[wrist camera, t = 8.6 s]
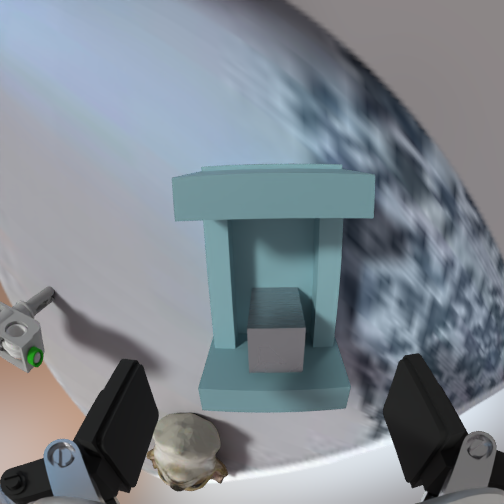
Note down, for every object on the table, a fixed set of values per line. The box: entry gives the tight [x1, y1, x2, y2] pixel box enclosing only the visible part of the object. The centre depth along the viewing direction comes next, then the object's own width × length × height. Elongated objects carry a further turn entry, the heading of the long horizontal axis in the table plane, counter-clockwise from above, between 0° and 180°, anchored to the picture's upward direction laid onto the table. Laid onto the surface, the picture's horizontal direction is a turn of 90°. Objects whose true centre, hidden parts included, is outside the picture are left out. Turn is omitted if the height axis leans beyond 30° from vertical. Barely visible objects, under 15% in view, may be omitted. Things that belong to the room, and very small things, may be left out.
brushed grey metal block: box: [247, 287, 306, 373], centre depth 21 cm, size 4×4×6 cm
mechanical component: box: [0, 287, 55, 373], centre depth 22 cm, size 3×10×10 cm, turn 77°
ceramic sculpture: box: [147, 413, 228, 491], centre depth 28 cm, size 11×9×15 cm
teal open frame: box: [172, 164, 375, 412], centre depth 20 cm, size 16×10×8 cm, turn 2°
